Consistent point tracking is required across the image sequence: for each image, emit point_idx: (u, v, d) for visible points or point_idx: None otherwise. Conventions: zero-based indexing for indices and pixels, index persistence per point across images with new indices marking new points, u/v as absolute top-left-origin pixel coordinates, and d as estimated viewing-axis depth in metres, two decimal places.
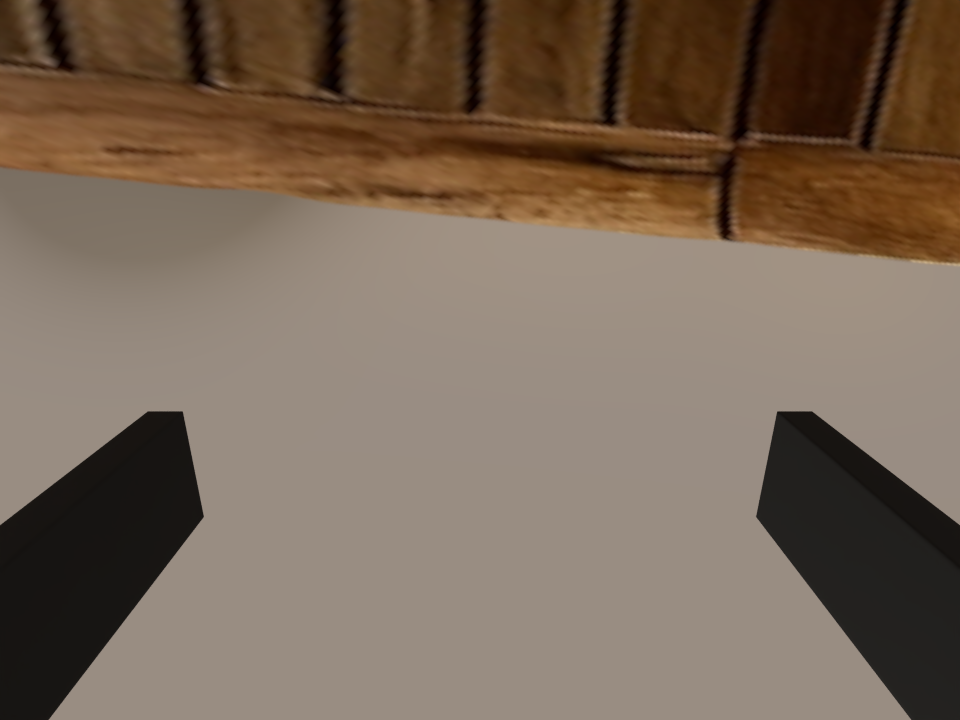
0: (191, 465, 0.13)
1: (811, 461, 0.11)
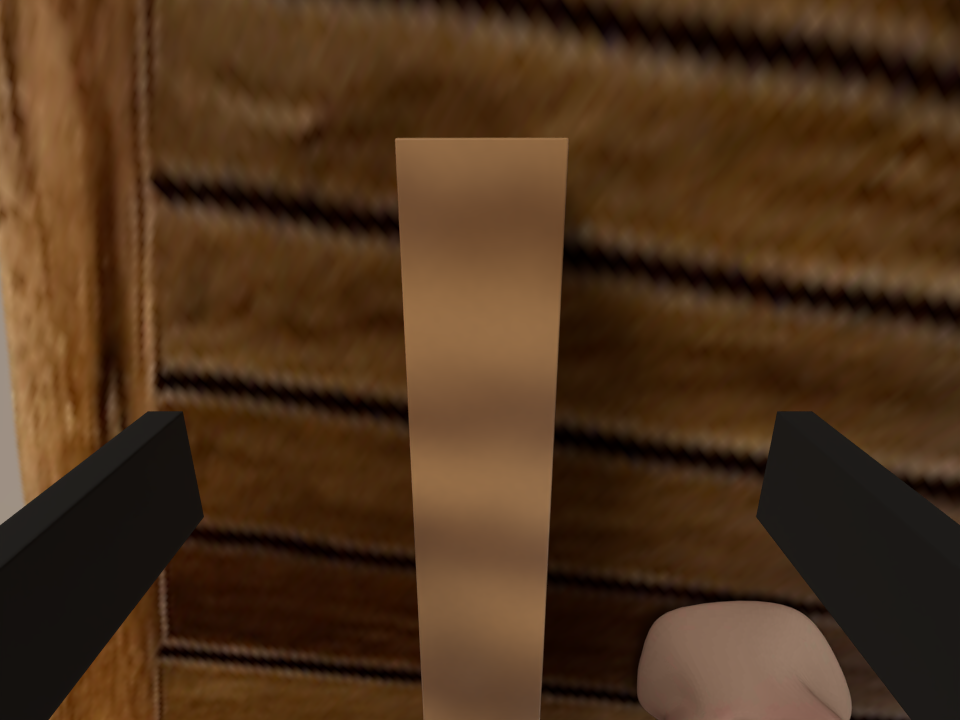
0: (191, 465, 0.13)
1: (812, 461, 0.11)
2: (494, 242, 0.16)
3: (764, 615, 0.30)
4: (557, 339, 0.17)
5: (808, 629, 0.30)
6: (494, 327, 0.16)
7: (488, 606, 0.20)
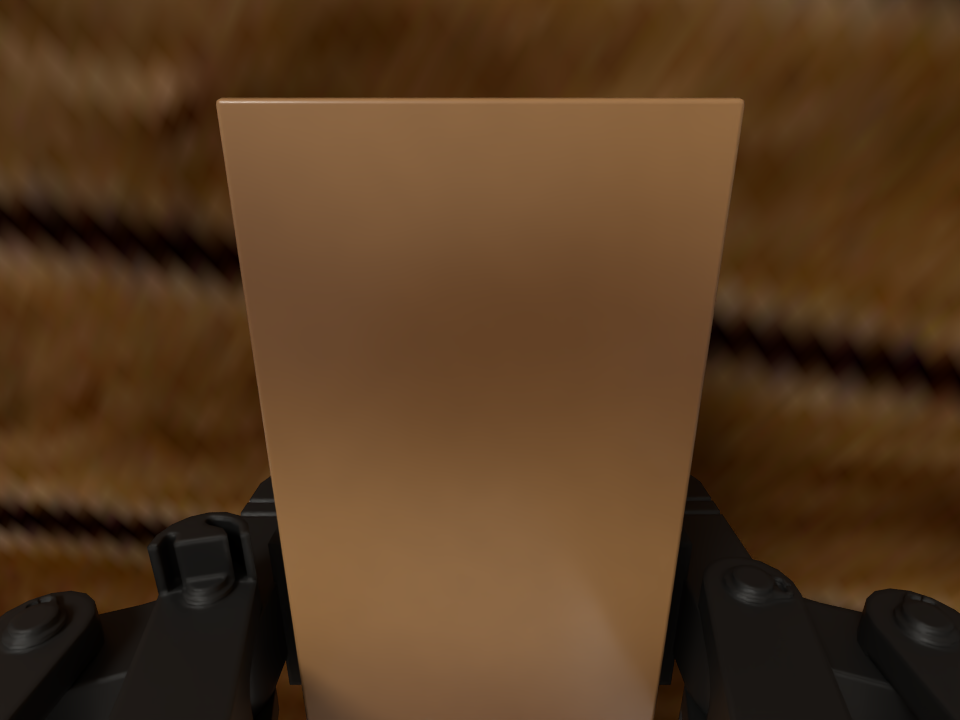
0: None
1: None
2: (514, 388, 0.06)
3: None
4: (667, 608, 0.07)
5: None
6: (511, 584, 0.07)
7: None
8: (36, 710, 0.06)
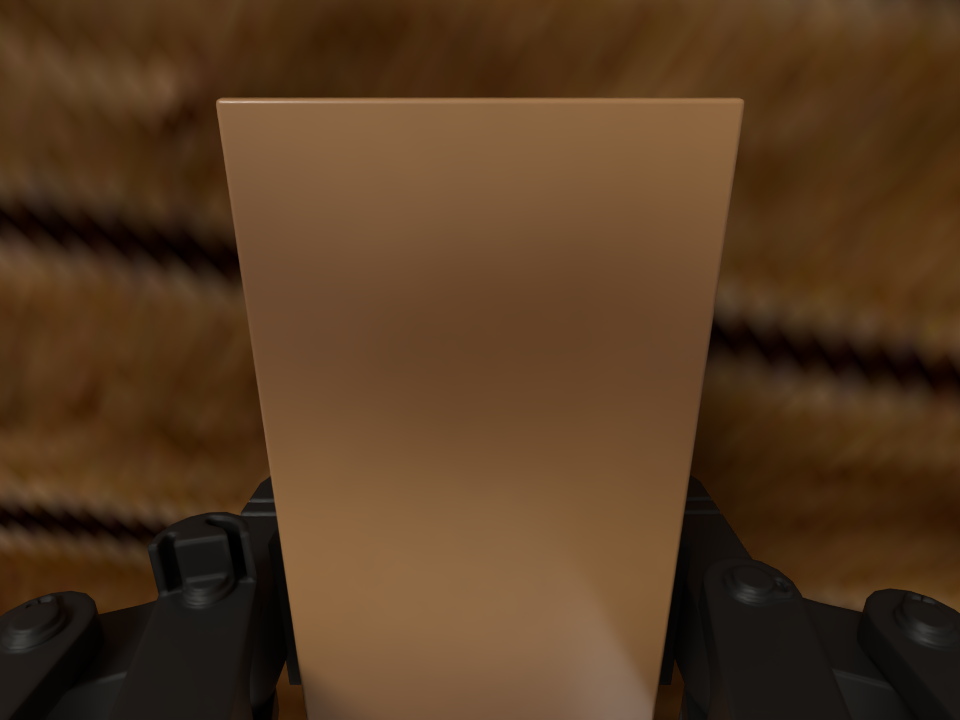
0: None
1: None
2: (514, 389, 0.06)
3: None
4: (667, 608, 0.07)
5: None
6: (511, 584, 0.07)
7: None
8: (36, 710, 0.06)
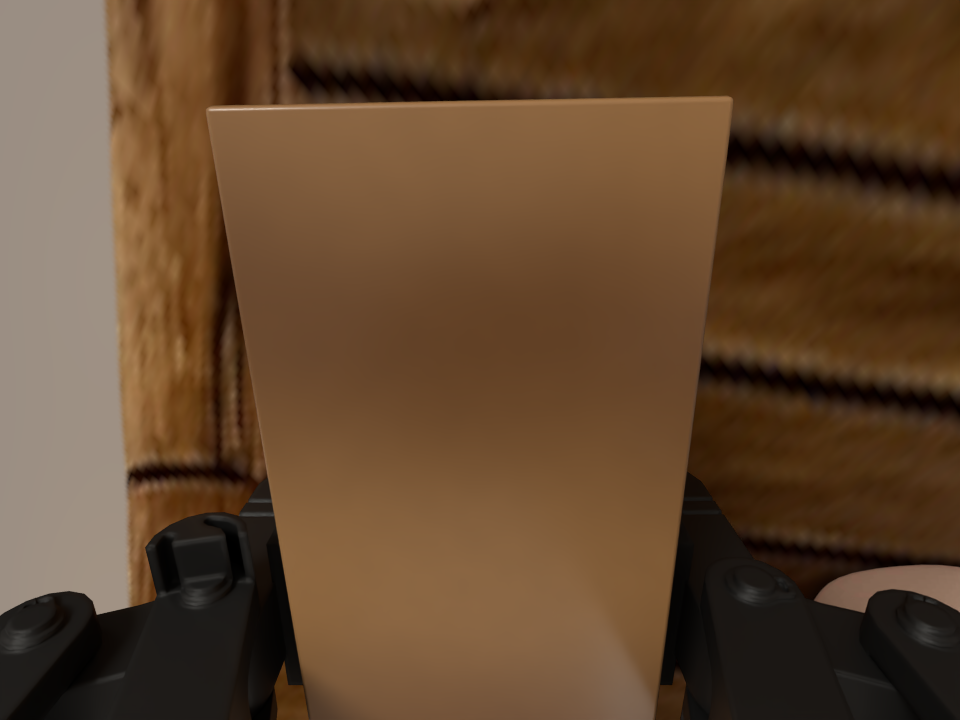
0: None
1: None
2: (508, 390, 0.06)
3: (952, 581, 0.26)
4: (666, 608, 0.07)
5: None
6: (510, 585, 0.07)
7: None
8: (34, 710, 0.06)
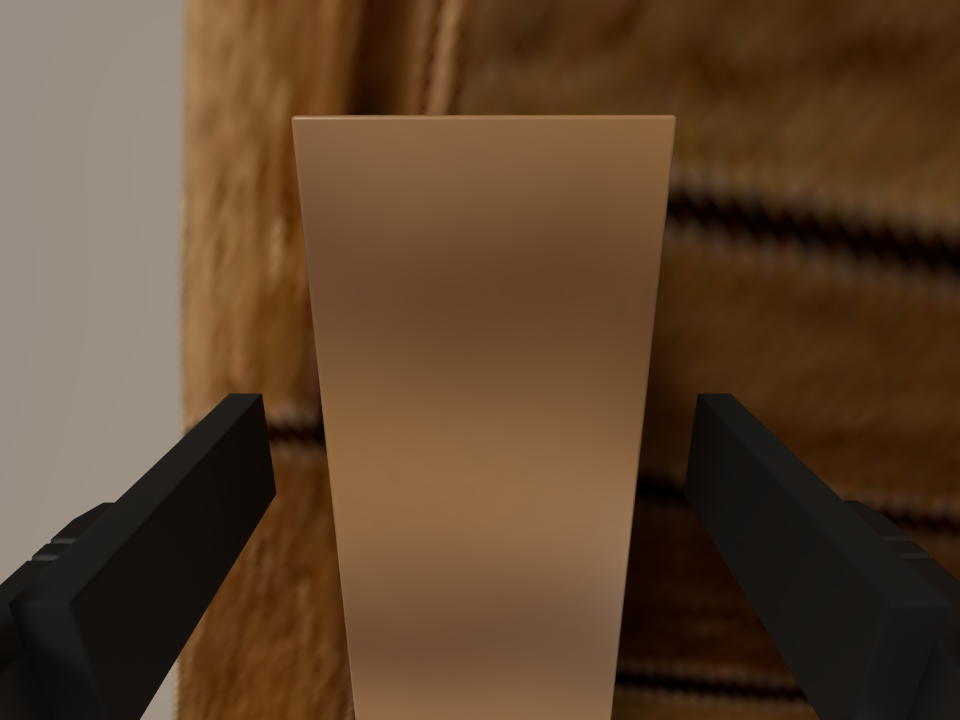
0: (267, 444, 0.13)
1: (721, 438, 0.12)
2: (509, 334, 0.07)
3: None
4: (631, 513, 0.08)
5: None
6: (508, 493, 0.08)
7: None
8: None
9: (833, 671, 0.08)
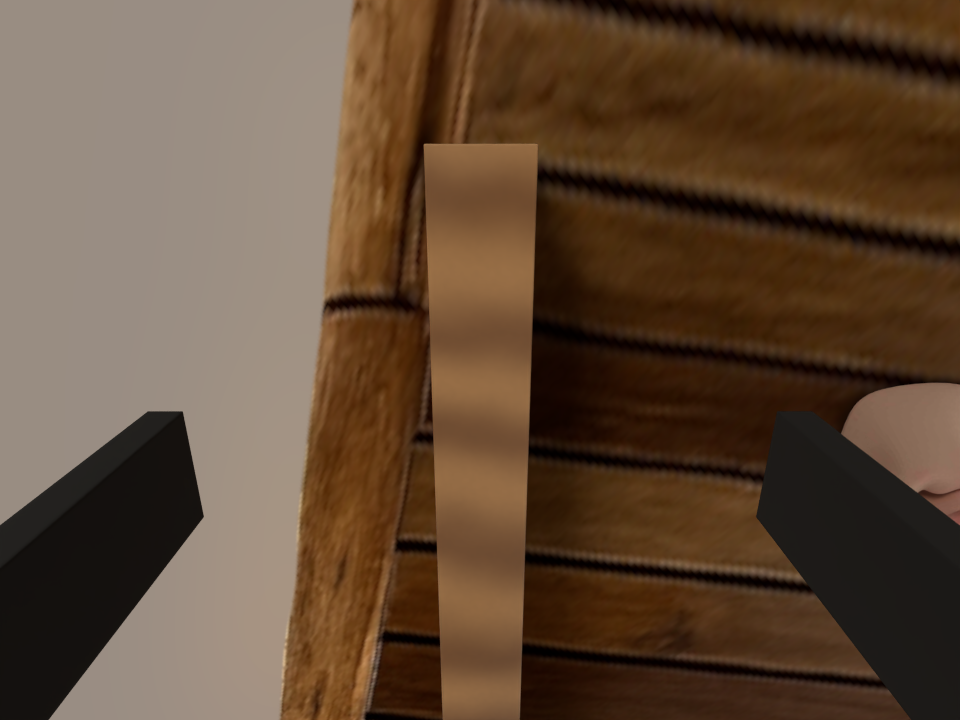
0: (190, 465, 0.13)
1: (812, 462, 0.11)
2: (489, 213, 0.23)
3: (956, 393, 0.34)
4: (532, 281, 0.24)
5: None
6: (489, 272, 0.24)
7: (486, 481, 0.28)
8: None
9: None
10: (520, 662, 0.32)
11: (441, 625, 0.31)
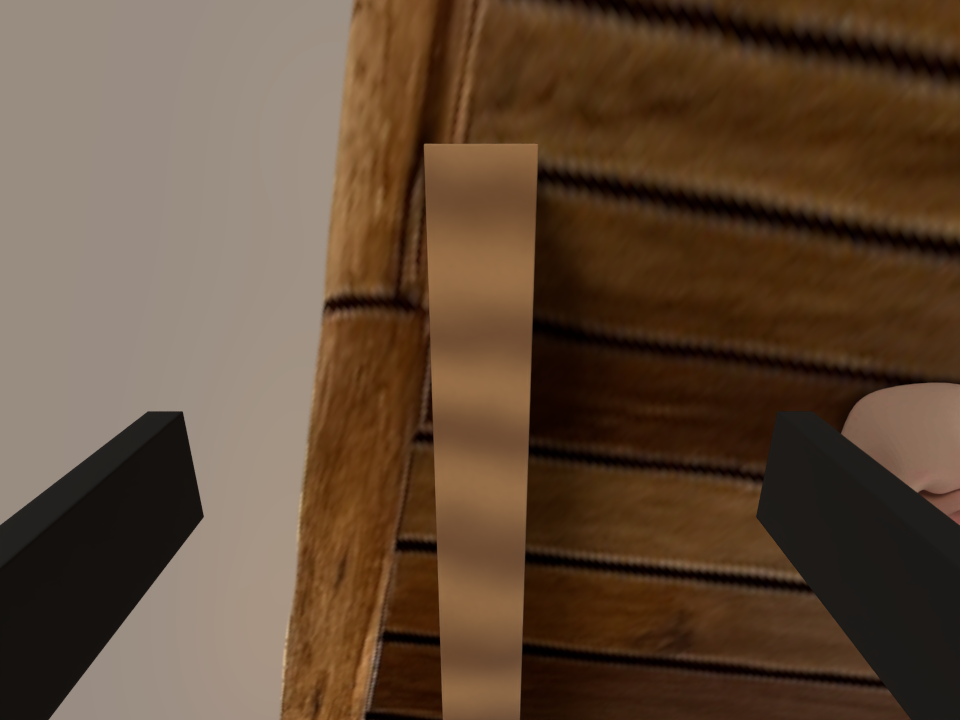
0: (190, 465, 0.13)
1: (812, 462, 0.11)
2: (489, 213, 0.23)
3: (956, 393, 0.34)
4: (532, 281, 0.24)
5: None
6: (489, 272, 0.24)
7: (486, 481, 0.28)
8: None
9: None
10: (520, 662, 0.32)
11: (441, 625, 0.31)
